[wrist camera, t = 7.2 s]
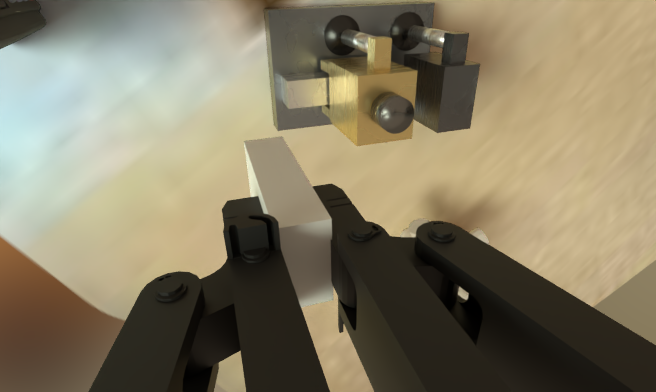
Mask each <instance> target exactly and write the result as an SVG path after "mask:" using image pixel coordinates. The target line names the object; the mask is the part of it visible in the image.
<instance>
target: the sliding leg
mask: <svg viewBox="0 0 656 392" xmlns="http://www.w3.org/2000/svg"><path fill="white" fill-rule="evenodd" d="M341 41H342V43H343V44H345V45H347V46H350V47H352V48H355V49H358V50H361V51H363V52H366V53H367V56H365V57H352V58H339V59H327V60H321V69H322V70H323V71H325V72H327V73H328V74H329V99H330V104H329V105H322V112H323V113H324V114H325V115H326V116H327V117H329V118H330V122H331V123H332V124H333V125H334V126H335V127H337V128H338V129H339V130H340V131H341V132H342V133H343V134H344V135H345V136H346V137H347V138H349V139H350V140H351V141H352V142H353V143H354V144H355V145H356V146H362V145H369V144H376V143H383V142H390V141H397V140H404V139H411V138H412V131H413V119H414V107H415V96H416V84H417V72H418V71H417V70H414V69H411V68H408V67H406V66H403V65H400V64H397V63H395V62H392V61H391V46H392V38H389V37H385V36H381V37H376V36H372V35H369V34H365V33H361V32H358V31H354V30H350V29H347V30H344V31H343V33H342V34H341Z"/></svg>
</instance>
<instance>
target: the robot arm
mask: <svg viewBox="0 0 656 392" xmlns="http://www.w3.org/2000/svg"><path fill="white" fill-rule="evenodd" d="M244 146H245V154H246V162H247V169H248V177H249V185H250V193H251V197H249V198H243V199H236V200H230V201H227V202H226V204H225V206H224V207H223V209H222V213H223V221H224V230H223V233H224V239H225V245H226V250H227V256H228V258H227V260H226V262H225V264H224V265H223V266H222V267H221V268H220V269H219V270H217V271H216V272H215V273H213V274H211V275H209V276H207V277H204V278H202V279H199V278H198V276H196V275H194V274H192V273H190V272H173V273H167V274H165V275H162V276H160V277H157V278H155V279H154V280H153V281H151V282H150V283H148V284H147V285H146V286H145V287H144V289H143V290H142V291H141V293H140V294H139V296H138V298H137V300H136V302H135V304H134V306H133V308H132V310H131V312H130V314H129V315H128V317H127V319H126V321H125V323H124V325H123V327H122V329H121V331H120V333H119V335H118V337H117V338H116V340H115V342H114V344H113V346H112V348H111V350H110V352H109V354H108V356H107V358H106V359H105V361H104V363H103V365H102V367H101V369H100V371H99V373H98V375H97V377H96V379H95V380H94V382H93V385H92V386H91V388H90V390H89V392H214V388H215V383H216V379H217V374H218V369H219V362H220V361H222V360H224V359H226V358H228V357H229V356H231V355H233V354H235V353H237V352H239V351H240V350H241V357H242V364H243V371H244V378H245V386H246V392H330V391H329V388H328V385H327V382H326V379H325V376H324V373H323V370H322V367H321V364H320V361H319V359H318V356H317V353H316V350H315V347H314V344H313V341H312V338H311V335H310V332H309V329H308V327H307V324H306V321H305V318H304V315H303V312H302V309H301V307H305V306H309V305H314V304H318V303H322V302H327V301H331V300H333V286H334V288H335V290H336V293H337V295H338V327H339V333H341V332H343V324H345V327H346V329H347V331H348V333H349V336H350V338H351V340H352V342H353V345H354V347H355V349H356V351H357V354H358V356H359V358H360V360H361V362H362V365H363V367H364V369H365V371H366V374H367V376H368V378H369V380H370V383H371V385H372V387H373V389H374V392H656V345H654V344H653V343H651V342H649V341H648V340H646V339H644V338H643V337H641V336H639V335H637V334H636V333H634V332H632V331H631V330H629V329H628V328H626V327H624V326H623V325H621V324H619V323H618V322H616V321H614V320H613V319H611V318H609V317H608V316H606V315H604V314H603V313H601V312H599V311H598V310H596V309H595V308H593V307H591V306H590V305H588V304H586V303H585V302H583V301H581V300H580V299H578V298H576V297H575V296H573V295H571V294H570V293H568V292H566V291H565V290H563V289H561V288H560V287H558V286H556V285H555V284H553V283H551V282H550V281H548V280H546V279H545V278H543V277H541V276H540V275H538V274H536V273H535V272H533V271H531V270H530V269H528V268H526V267H525V266H523V265H522V264H520V263H518V262H517V261H515V260H513V259H512V258H510V257H508V256H507V255H505V254H503V253H502V252H500V251H498V250H497V249H495V248H493V247H492V246H490V245H488V244H487V243H485V242H483V241H482V240H480V239H478V238H477V237H475V236H473V235H472V234H470V233H468V232H467V231H465V230H463V229H462V228H460V227H458V226H456V225H454V224H451V223H447V222H443V221H431V222H427V223H424V224H422V225H420V226H419V227H418V228H417V230H416V237H392V236H389V234H388V233H387V232H386V231H385V229H383V228H382V227H381V226H380V225H378V224H375V223H373V222H367V221H365V220H364V218H363V217H362V216H361V214H360V213H359V211H358V210H357V209H356V207H355V206H354V205H353V204H352V202H351V201H350V199H349V198H348V197H347V195H346V194H345V193H344V191H343V190H342V189H341V188H339V187H337V186H335V185H333V184H326V185H319V186H313V187H312V185H311V184H310V182H309V180H308V179H307V177H306V175H305V174H304V172H303V170H302V169H301V167H300V165H299V164H298V162H297V160H296V159H295V157H294V155H293V154H292V152H291V150H290V149H289V147H288V145H287V144H286V142H285V140H284V139H283V137H274V138H265V139H257V140H249V141H244ZM459 287H461V288H462V289H463V290H465V291H466V292H467V293H469V294H468V299H467V300H465V299H464V298H462V297H461V296H459V295H458V291H459Z"/></svg>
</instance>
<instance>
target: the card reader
mask: <svg viewBox="0 0 656 392" xmlns="http://www.w3.org/2000/svg"><path fill="white" fill-rule="evenodd" d="M40 9H41V6H40V5H39V4H38V3H37V1H36V0H0V49H1V48H4V47H6V46H8V45H10V44H12V43H14V42H16V41H18V40H20V39H22V38H24V37H26V36H28V35H30V34H32V33H34V32H36V31H38V30H39V29H41V28H43V27H44V26H45V25H46V21H45V19H44V17H43V16H42V15H41V14H40V12H39V10H40Z"/></svg>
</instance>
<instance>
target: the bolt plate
mask: <svg viewBox="0 0 656 392" xmlns="http://www.w3.org/2000/svg"><path fill="white" fill-rule="evenodd" d="M433 11H434V3H428V2H415V3H391V4H366V5H342V6H318V7H293V8H269V9H264V17H265V29H266V40H267V52H268V63H269V74H270V86H271V97H272V108H273V120H274V126H275V127H276V129H277V130H278V131H280V130H288V129H296V128H304V127H312V126H320V125H328V124H332V123H331V122H330V118H329V117H327V116H326V115H325V114H324V113H323V112H322V105H329V104H330V99H329V74H328V73H327V72H325V71H323V70H322V69H321V60H327V59H339V58H352V57H365V56H367V53H366V52H363V51H361V50H358V49H355V48H352V47H350V46H347V45H345V44H343V43H342V41H341V34H342V33H343V31H344V30H347V29H350V30H354V31H358V32H361V33H365V34H369V35H372V36H376V37H381V36H385V37H389V38H392V46H391V61H392V62H395V63H397V64H400V65H403V66H406V67H408V68H411V69H414V70H417V71H418V72H417V84H416V96H415V107H414V120H416V121H418V122H419V123H421V124H423V125H425V126H426V127H428V128H430V129H432V130H433V131H435V132H437V133H440V132H447V131H454V130H461V129H468V128H470V125H471V119H472V112H473V106H474V99H475V93H476V86H477V80H478V74H479V67H480V64H478V63H475V62H471V61H467V60H465V59H466V52H467V45H468V37H469V33H465V32H450V31H445V30H439V29H433V28H432V22H433ZM430 45H432V46H436V47H440V48H443V51H442V54H441V53H437V52H430Z"/></svg>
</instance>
